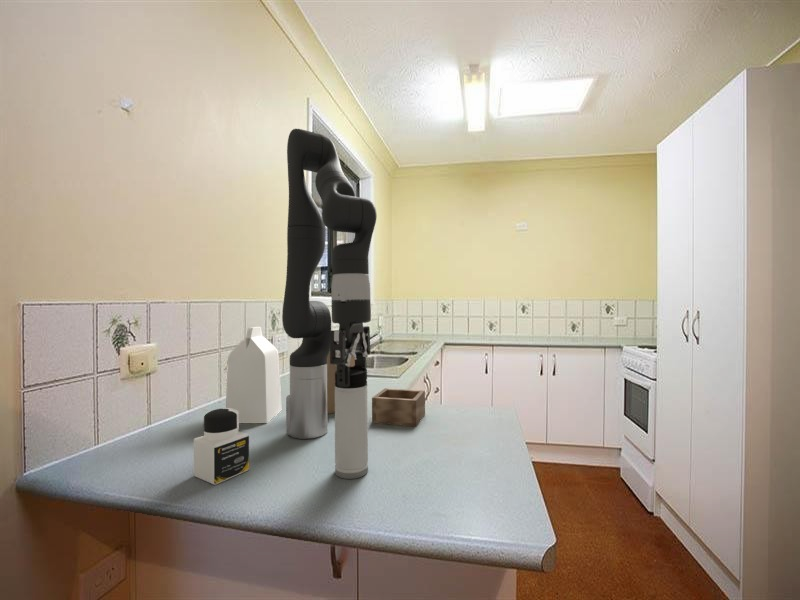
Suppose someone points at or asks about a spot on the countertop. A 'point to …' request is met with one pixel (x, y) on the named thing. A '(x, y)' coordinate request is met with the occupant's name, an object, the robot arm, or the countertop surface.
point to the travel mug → (351, 425)
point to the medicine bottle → (221, 447)
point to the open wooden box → (398, 407)
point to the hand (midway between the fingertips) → (352, 382)
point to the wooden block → (333, 383)
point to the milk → (254, 379)
